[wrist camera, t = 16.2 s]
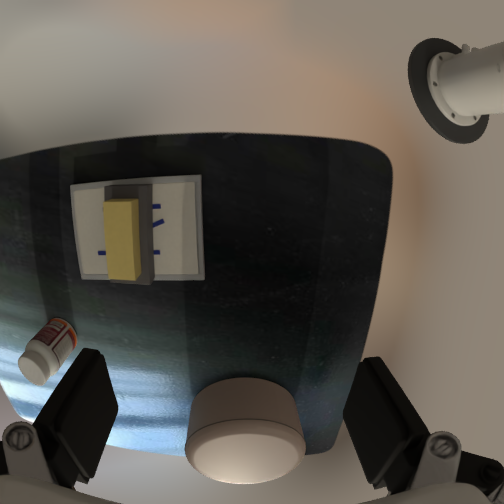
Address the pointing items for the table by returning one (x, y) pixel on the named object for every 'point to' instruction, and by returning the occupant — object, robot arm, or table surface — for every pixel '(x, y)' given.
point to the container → (244, 431)
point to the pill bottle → (47, 351)
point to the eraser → (129, 233)
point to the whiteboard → (164, 226)
